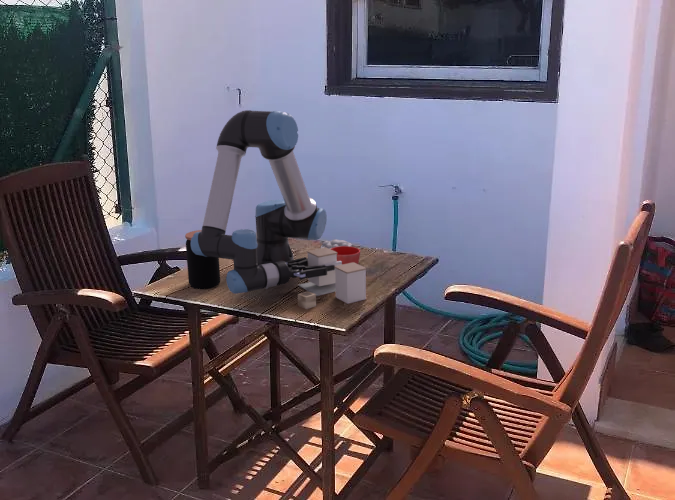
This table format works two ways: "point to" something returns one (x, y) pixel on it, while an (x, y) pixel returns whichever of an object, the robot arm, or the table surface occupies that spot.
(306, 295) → the open box
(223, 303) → the table surface
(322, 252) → the cover canister
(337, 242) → the lumpy-topped squat cylinder
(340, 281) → the empty canister
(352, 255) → the flower pot
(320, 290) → the felt mat
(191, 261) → the coffee jar
